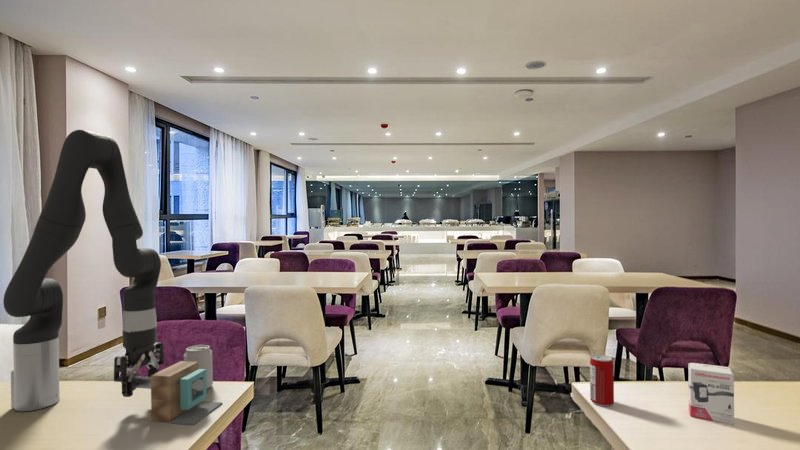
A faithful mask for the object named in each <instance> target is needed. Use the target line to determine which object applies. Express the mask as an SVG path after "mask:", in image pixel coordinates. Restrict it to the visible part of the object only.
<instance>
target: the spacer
mask: <svg viewBox="0 0 800 450" xmlns="http://www.w3.org/2000/svg"><path fill="white" fill-rule="evenodd" d="M198 379H200V380H204V388H203V390H202V391H200V392H199V391H196V394H195V395H194V396H192V384H191V383H193V382H194V381H196V380H198ZM207 395H208V394H207V390H206V369H198V370H196V371H194V372H192V373H191V374H189V375H187V376H185V377H183V378H181V379H180V397H181V410H189V409H190V408H192V407H193V406H195V405H196V404H198V403H200V402H201V401H205V399H207V397H208V396H207Z"/></svg>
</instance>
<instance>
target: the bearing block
mask: <svg viewBox="0 0 800 450" xmlns="http://www.w3.org/2000/svg"><path fill="white" fill-rule="evenodd" d="M196 370H198V362H190V361H184V360H179V361H178V362H177V363H174V364H172V365H170V366H168V367H165V368H163V369H162V370H158V372H157V373H155V374H153V375H151V389H150V404H151V405H150V408H151V409H150V410H151V411H150V413H151V415H150V416H151V420H150V421H151V422H156V423H157V422H158V423H171V421H173V420H174V419H176V418H177V417H179V416H180V415H182V414H183V413H185V412H186V411H188V410H181V397H180V379H181V378H183V377H185V376H187V375H189V374H191V373H192V372H194V371H196ZM195 394H196V391H192V396H194V395H195ZM196 405H197V404H196ZM193 407H194V406H193ZM190 409H191V408H190Z"/></svg>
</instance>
